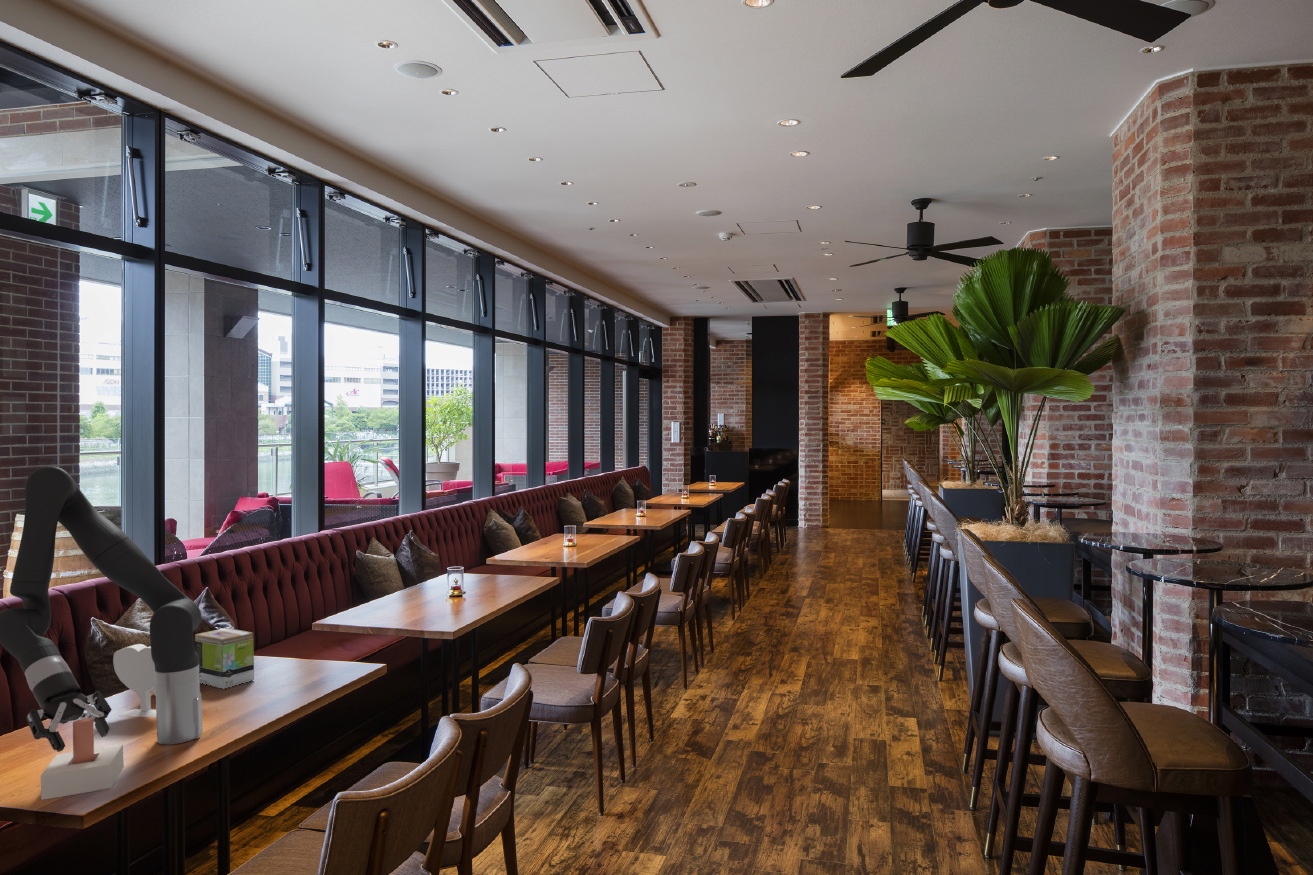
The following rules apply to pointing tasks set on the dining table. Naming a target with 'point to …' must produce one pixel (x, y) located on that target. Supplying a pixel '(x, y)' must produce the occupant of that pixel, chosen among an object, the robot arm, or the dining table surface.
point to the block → (82, 773)
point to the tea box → (225, 657)
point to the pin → (83, 741)
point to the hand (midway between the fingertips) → (84, 741)
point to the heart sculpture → (137, 676)
